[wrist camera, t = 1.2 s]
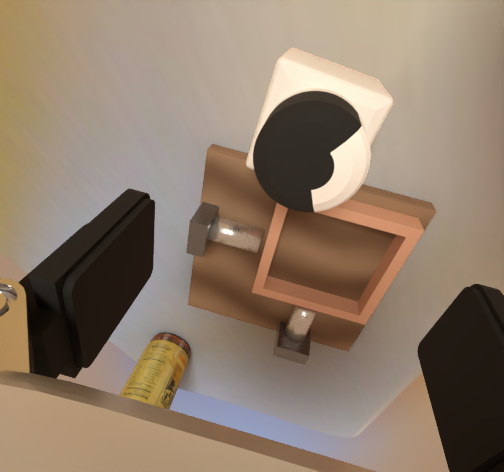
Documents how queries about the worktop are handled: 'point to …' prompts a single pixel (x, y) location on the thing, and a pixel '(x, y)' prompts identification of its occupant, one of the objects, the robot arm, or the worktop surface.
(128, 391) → the sauce bottle
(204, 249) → the square clamping fixture
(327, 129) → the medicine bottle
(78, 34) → the worktop surface
